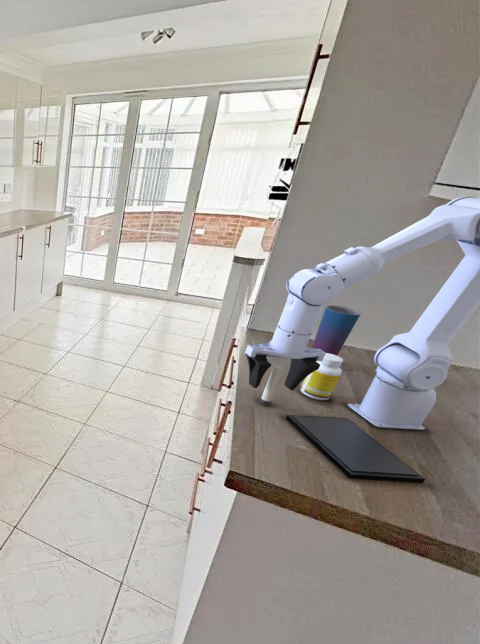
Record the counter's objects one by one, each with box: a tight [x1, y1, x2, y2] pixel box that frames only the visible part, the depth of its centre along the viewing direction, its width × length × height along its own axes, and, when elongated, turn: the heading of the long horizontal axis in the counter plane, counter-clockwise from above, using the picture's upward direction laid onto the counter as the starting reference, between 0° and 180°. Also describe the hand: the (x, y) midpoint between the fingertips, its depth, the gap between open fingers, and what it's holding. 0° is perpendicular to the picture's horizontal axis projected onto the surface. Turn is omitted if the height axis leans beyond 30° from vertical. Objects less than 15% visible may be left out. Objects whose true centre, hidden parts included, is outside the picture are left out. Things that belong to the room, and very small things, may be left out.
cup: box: [311, 304, 362, 361], centre depth 106 cm, size 7×7×15 cm
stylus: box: [259, 365, 285, 406], centre depth 88 cm, size 2×2×9 cm
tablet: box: [285, 414, 426, 484], centre depth 77 cm, size 12×17×1 cm
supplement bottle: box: [300, 353, 344, 401], centre depth 92 cm, size 5×5×10 cm
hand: (270, 386), depth 88 cm, fingers open, 7 cm apart
